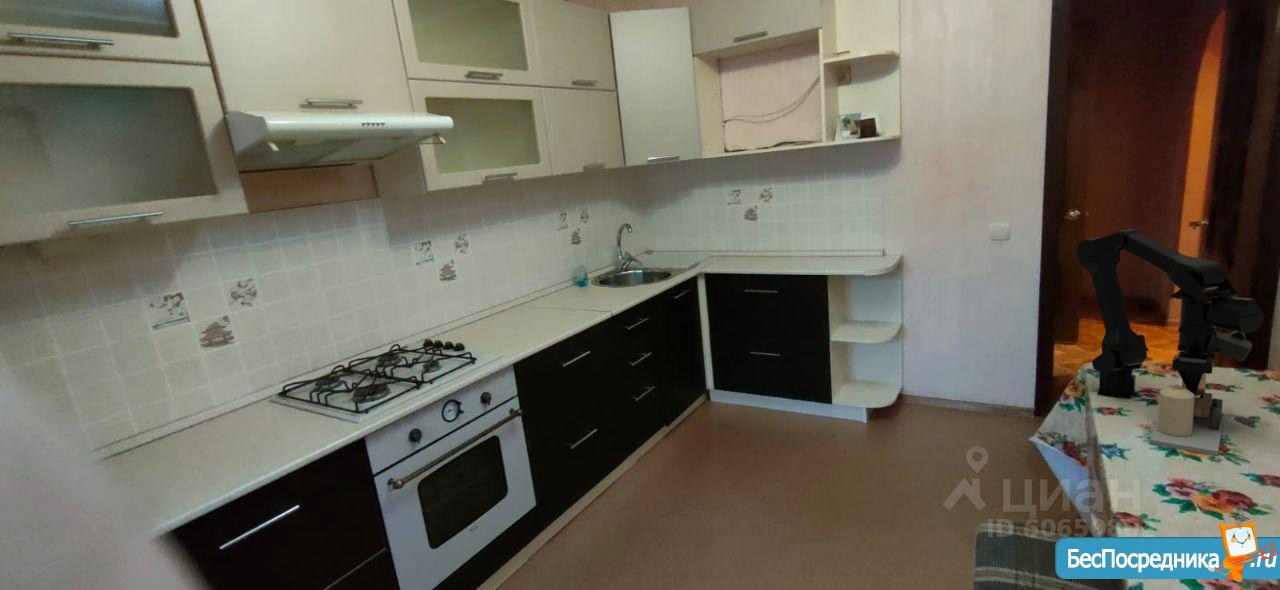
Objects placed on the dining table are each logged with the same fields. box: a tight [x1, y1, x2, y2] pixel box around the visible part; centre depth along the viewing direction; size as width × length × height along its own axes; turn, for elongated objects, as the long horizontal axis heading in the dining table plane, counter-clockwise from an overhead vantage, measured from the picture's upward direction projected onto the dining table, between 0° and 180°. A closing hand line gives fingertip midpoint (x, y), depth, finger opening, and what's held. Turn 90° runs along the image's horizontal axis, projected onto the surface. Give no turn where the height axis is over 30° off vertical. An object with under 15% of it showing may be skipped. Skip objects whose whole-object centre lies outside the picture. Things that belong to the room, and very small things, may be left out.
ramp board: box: [1149, 412, 1224, 457], centre depth 133 cm, size 10×18×2 cm, turn 135°
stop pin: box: [1181, 373, 1207, 398], centre depth 136 cm, size 4×4×9 cm
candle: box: [1158, 384, 1194, 436], centre depth 132 cm, size 6×6×10 cm
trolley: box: [1193, 392, 1224, 429], centre depth 136 cm, size 9×9×5 cm
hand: (1193, 390), depth 136 cm, fingers closed on stop pin, 4 cm apart
